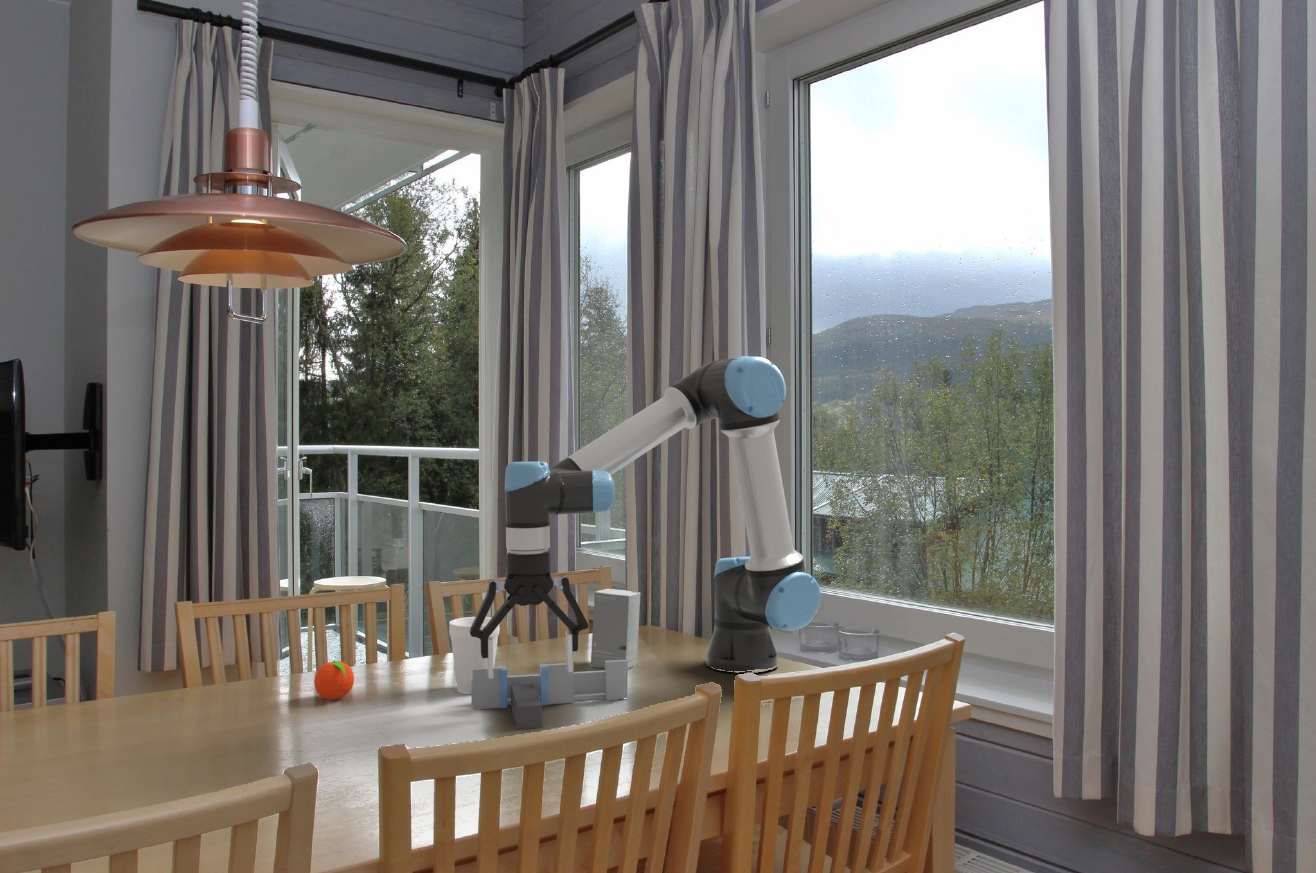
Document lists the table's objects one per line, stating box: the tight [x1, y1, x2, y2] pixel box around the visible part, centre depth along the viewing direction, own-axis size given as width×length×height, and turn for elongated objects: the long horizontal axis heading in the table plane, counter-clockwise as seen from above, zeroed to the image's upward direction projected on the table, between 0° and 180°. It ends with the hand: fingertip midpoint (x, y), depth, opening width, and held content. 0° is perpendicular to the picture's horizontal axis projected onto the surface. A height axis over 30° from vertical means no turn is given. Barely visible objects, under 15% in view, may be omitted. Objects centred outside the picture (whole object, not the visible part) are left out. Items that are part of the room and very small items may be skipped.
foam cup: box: [448, 616, 501, 695], centre depth 179 cm, size 10×9×13 cm
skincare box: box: [590, 588, 642, 670], centre depth 198 cm, size 8×7×16 cm
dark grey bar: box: [510, 684, 543, 730], centre depth 162 cm, size 4×14×4 cm, turn 13°
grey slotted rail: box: [470, 660, 629, 710], centre depth 171 cm, size 28×5×7 cm, turn 104°
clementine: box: [313, 659, 355, 701], centre depth 172 cm, size 8×7×7 cm
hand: (530, 673), depth 162 cm, fingers open, 13 cm apart
